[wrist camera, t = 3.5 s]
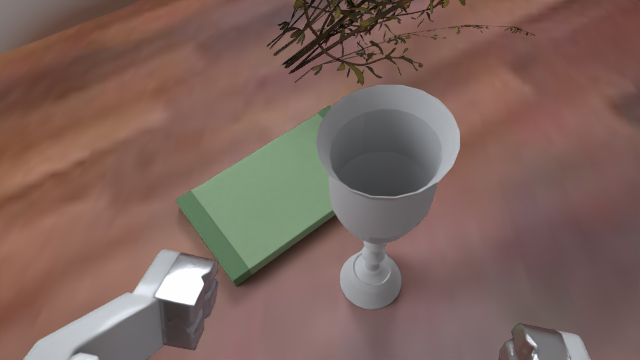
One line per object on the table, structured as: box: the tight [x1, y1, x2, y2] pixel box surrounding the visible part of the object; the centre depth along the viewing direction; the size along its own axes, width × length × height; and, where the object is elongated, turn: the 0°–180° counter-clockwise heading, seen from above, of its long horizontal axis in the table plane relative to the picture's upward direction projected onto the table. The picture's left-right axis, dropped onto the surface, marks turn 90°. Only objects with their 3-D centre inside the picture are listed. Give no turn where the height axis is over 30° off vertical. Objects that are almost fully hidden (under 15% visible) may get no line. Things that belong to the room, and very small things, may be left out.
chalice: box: [316, 85, 460, 309], centre depth 29 cm, size 7×7×18 cm
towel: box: [176, 106, 336, 286], centre depth 41 cm, size 18×10×1 cm, turn 128°
